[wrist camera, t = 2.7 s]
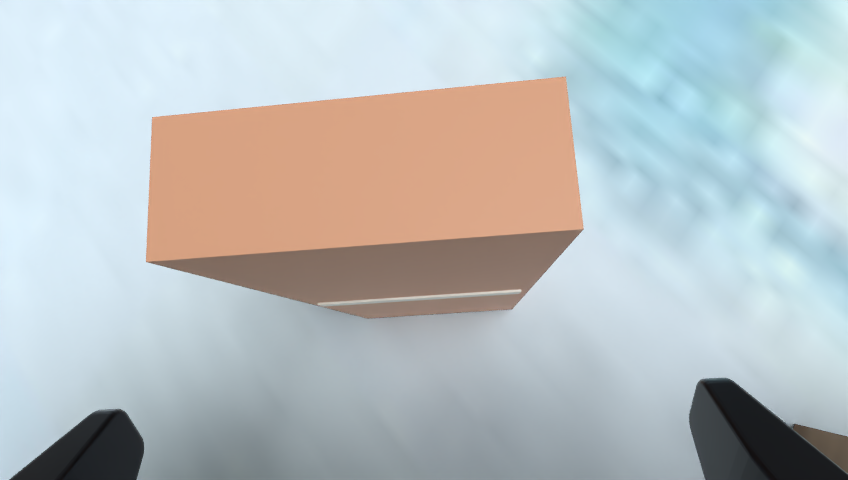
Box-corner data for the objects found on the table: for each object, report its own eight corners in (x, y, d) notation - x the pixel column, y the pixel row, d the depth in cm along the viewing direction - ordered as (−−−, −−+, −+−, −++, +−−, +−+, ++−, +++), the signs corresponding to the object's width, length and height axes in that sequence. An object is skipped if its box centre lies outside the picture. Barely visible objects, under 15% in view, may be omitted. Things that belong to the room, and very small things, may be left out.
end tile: (512, 310, 19) (583, 233, 6) (367, 319, 19) (145, 265, 6) (507, 255, 19) (565, 72, 6) (365, 265, 19) (152, 113, 7)
